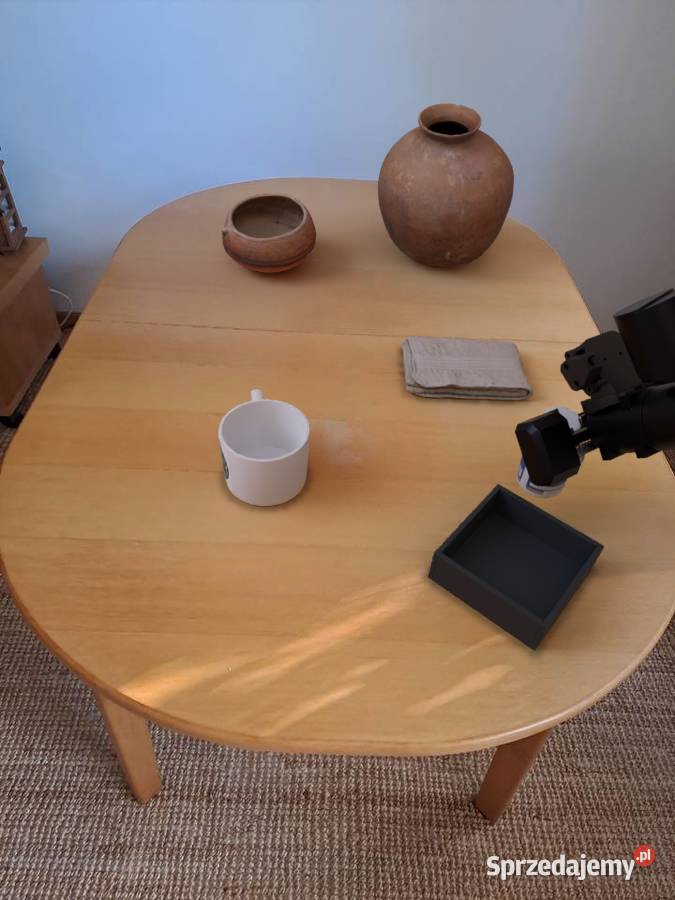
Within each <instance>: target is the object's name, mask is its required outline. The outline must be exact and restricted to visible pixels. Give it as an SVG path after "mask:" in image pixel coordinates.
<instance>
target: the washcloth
mask: <svg viewBox="0 0 675 900" xmlns="http://www.w3.org/2000/svg"><path fill="white" fill-rule="evenodd" d="M400 346H401V348H402V351H403V354H402V360H403V361H402V362H403V363H402V364H403V369H404V383H405V388H406V392H410V393H413V394H414V395H416V396H420V397H422V398H423V397H424V398H453V399H454V398H455V399H464V400H465V399H467V400H495V401H497V400H501V401H523V400H527V399H529V398H531V397H532V396H533V395H534V392H533V387H532V385H531V383H530V381H529V378H528V376H527V374H526V373H525V372H524V369H523V366H524V365H523V360H522V358H521V354H520V352H519V347H518V346H517V345H516V343H513V342H511V341H503V340H502V341H501V340H486V339H485V340H483V339H471V338H457V337H456V338H455V337H454V338H452V337H430V336H428V337H427V336H422V335H421V336H420V335H419V336H415V335H410V336H407V337H406V338H405V340H403V341H402V342H401V343H400Z"/></svg>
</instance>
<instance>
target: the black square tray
mask: <svg viewBox="0 0 675 900" xmlns="http://www.w3.org/2000/svg"><path fill="white" fill-rule="evenodd" d="M604 548H605V545H604V544H602V543H601V542H598V541H597V540H596V539H593V538H592V537H590V536H589V535H587V534H585V533H583V532H581V531H580V530H579V529H577V528H574V527H573V526H571V525H570V524H568V523H566V522H565V521H562V519H559V518H558V517H557V516H554V515H553V514H551V513H549V512H547V511H546V510H544V509H542V508H541V507H539V506H537V505H536V504H534V503H532V502H530V501H529V500H527V499H525V498H524V497H522V496H520V495H518V494H516V493H515V492H514V491H512V490H509V488H507V487H505V486H502V485H501V484H500V483H497V484H496V485H495V486H494V488H492V490H490V492H489V493H488V494H487V495H486V496H485V497H484V498H483V499H482V500H481V501H480V503H479V504H478V505H477V506H475V508H474V509H473V510H472V511H471V512H470V513H469V514H468V516H466V518H464V520H463V521H461V523H460V524H459V525H458V526H457V527H456V528H455V530H453V532H451V534H450V535H448V537H447V538H446V539H445V540H444V541H443V542H442V544H441V545H440V546H439V547H437V549H436V550H435V551H433V554H432V559H431V562H430V567H429V569H428V574H427V578H428V579H429V580H431V581H433V582H434V583H436V585H438V586H440V587H441V588H443V589H444V590H446V591H447V592H449V593H450V594H451V595H453V596H454V597H456V598H457V599H458V600H460V601H461V602H463V603H465V604H466V605H467V606H469V607H470V608H472V609H473V610H474V611H476V612H477V613H479V614H480V615H482V616H483V617H485V618H486V619H488V620H489V621H490V622H492V623H494V624H495V626H498V627H499V628H501V629H502V630H504V631H505V632H506V633H508V634H509V635H511V636H512V637H514V639H516V640H517V641H519V642H520V643H522V644H524V645H525V646H526V647H528V648H530V649H531V650H533V651H534V652H535V651H537V649H538V648H539V646H540V645H541V644H542V642H543V641H544V639H545V638H546V636H547V634H549V632H550V630H551V629H552V627H554V625H555V623H556V622H557V620H558V619H559V618H560V617H561V615H562V613H563V612H564V611H565V609H566V608H567V606H568V604H569V603H570V602H571V600H572V599H573V597H574V596H575V595H576V593H577V592H578V590H579V589H580V588H581V586H582V584H583V583H584V582H585V580H586V579H587V578H588V576H589V574H590V573H591V572H592V570H593V569H594V566H595V564H596V563H597V562H598V559H599V558H600V556H601V554H602V552H603V550H604Z"/></svg>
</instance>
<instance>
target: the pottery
mask: <svg viewBox="0 0 675 900" xmlns="http://www.w3.org/2000/svg"><path fill="white" fill-rule="evenodd" d="M417 122H418V125H419V126H416V127H414V128H413V129H410V130H409V131H408V132H407V133H405V134H404V135H403V136H401V138H399V139H398V140H396V142H395V143H394V144H393V145H392V147H391V148H390V149H389V150H388V152H387V153H386V156H385V157H384V159H383V161H382V164H381V167H380V170H379V173H378V179H377V198H378V207H379V209H380V210H379V211H380V214H381V217H382V220H383V221H382V222H383V224H384V227H385V229H386V231H387V234H388V236H389V238H390V240H391V241H392V243H393V244H394V245H395V246H396V247H397V248H398V250H400V252H402V253H403V254H404V255H406V256H408V257H409V258H410V259H412V260H413V261H416V262H419V263H421V264H424V265H427V266H434V267H457V266H462V265H466V264H469V263H471V262H474V261H476V260H478V259H479V258H480V257H481V256H482V255H483V254H484V253H485V252H486V251H487V250H489V248H491V246H492V245H493V244H494V242H495V241H496V240H497V237H498V236H499V234H500V233H501V230H502V228H503V226H504V225H505V224H504V223H505V221H506V218H507V217H508V213H509V210H510V208H511V204H512V200H513V196H514V187H515V185H514V184H515V174H514V173H515V172H514V167H513V165H512V162H511V159H510V158H509V157H508V154H507V153H506V152H505V151H504V149H503V148H502V147H501V146H500V145H499V143H498V142H497V141H496V140H495V139H494V138H493V137H491V136H490V135H489V134H488V133H486V132H484V130H483V131H482V130H481V129H480V128H481V126H482V118H481V115H480V113H478V112H477V110H475V109H474V108H471V107H469V106H467V105H463V104H456V103H437V104H432V105H429V106H427V107H425V108H424V109H422V110H421V111H420V112H419V114H418V117H417Z"/></svg>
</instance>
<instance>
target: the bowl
mask: <svg viewBox="0 0 675 900" xmlns="http://www.w3.org/2000/svg"><path fill="white" fill-rule="evenodd" d="M224 221H225V222H224V225H223V227H222V228H221V239H222V246H223V249H224V251H225V253H226V254H227V255H228V256H229V258H231V259H232V260H233V262H235V263H236V264H238V265H239V266H240V267H243V268H246V269H248V270H250V271H255V272H261V273H280V272H285V271H288V270H290V269H292V268H293V269H294V268H295V267H296V266H298V265H300V264H301V263H303V262H304V261H305V260H306V258H307V257H308V255H309V254H310V253H312V251H313V250H314V248H315V246H316V245H317V244H316V243H317V229H316V225H315V223H314V219H313V217H312V215H311V213H310V211H309V209H308V208H307V206H306V205H305V204H304V203H303V202H301V200H299V199H297V198H296V197H294V196H291V195H290V194H284V193H276V192H267V193H265V192H264V193H260V194H253V195H251V196H248V197H245V198H243V199H242V200H240V201H238V202H237V203H236V204H234V205H233V206H232V207H231V208H230V209H229V211H228V213H227V215H226V218H225V220H224Z"/></svg>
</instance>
